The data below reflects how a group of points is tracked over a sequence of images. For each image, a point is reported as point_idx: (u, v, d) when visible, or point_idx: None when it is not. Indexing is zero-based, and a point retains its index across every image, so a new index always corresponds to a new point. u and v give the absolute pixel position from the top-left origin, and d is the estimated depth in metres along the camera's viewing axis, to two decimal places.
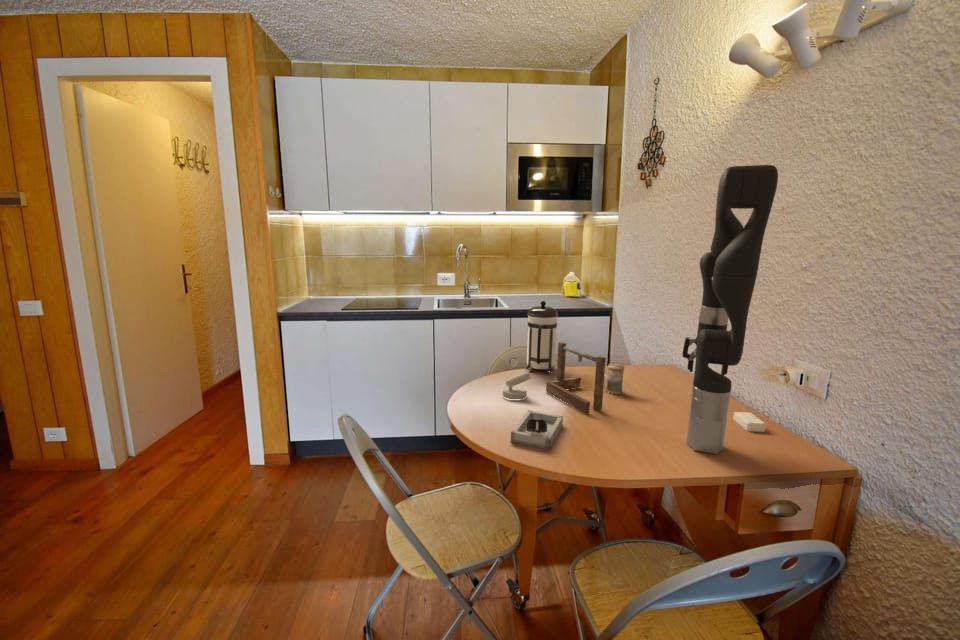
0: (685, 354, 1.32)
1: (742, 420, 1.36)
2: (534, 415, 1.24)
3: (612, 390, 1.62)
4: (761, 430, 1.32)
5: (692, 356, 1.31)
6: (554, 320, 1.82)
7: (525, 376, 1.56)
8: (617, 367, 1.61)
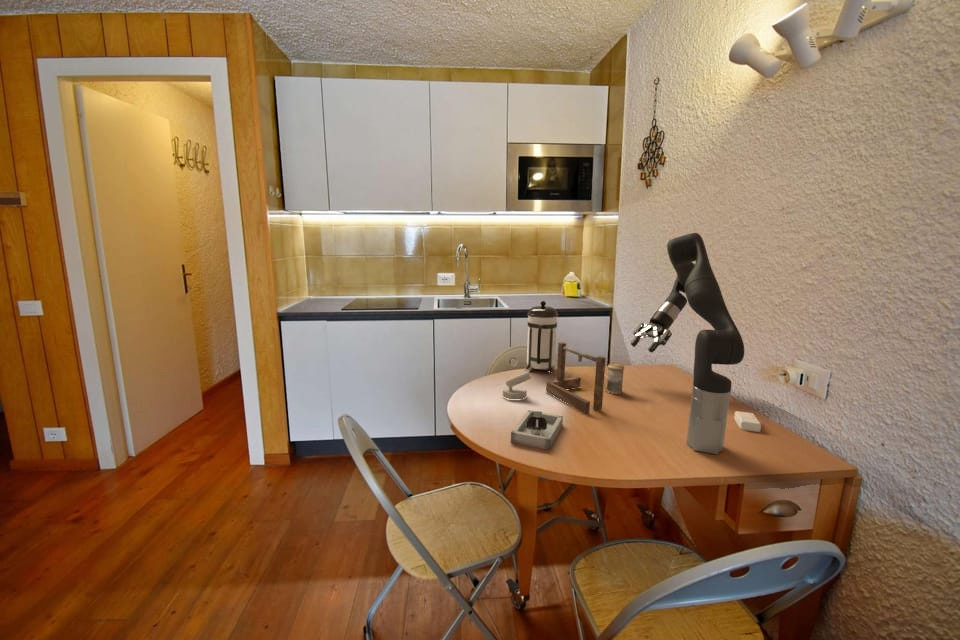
0: None
1: (738, 419, 1.37)
2: (534, 413, 1.26)
3: (612, 390, 1.62)
4: (756, 430, 1.33)
5: None
6: (554, 320, 1.82)
7: (525, 376, 1.56)
8: (617, 367, 1.61)
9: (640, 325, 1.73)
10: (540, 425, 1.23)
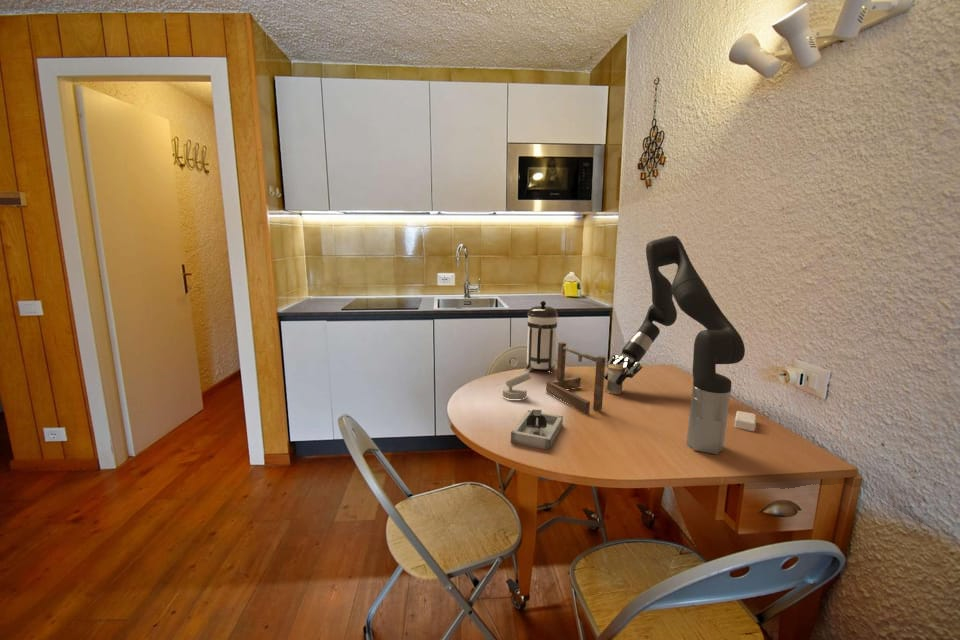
0: None
1: None
2: (534, 411, 1.27)
3: (612, 390, 1.62)
4: (749, 429, 1.33)
5: None
6: (554, 320, 1.82)
7: (525, 376, 1.56)
8: (617, 367, 1.61)
9: (612, 357, 1.69)
10: (540, 423, 1.24)
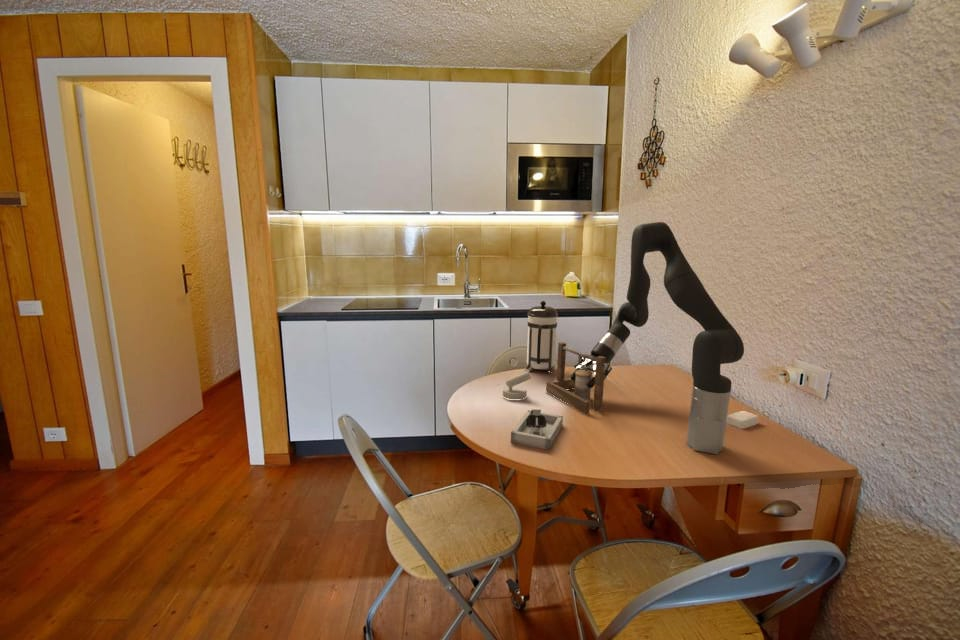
0: None
1: None
2: (533, 411, 1.27)
3: None
4: (738, 426, 1.35)
5: None
6: (554, 320, 1.82)
7: (525, 376, 1.56)
8: (584, 373, 1.53)
9: None
10: (540, 423, 1.24)
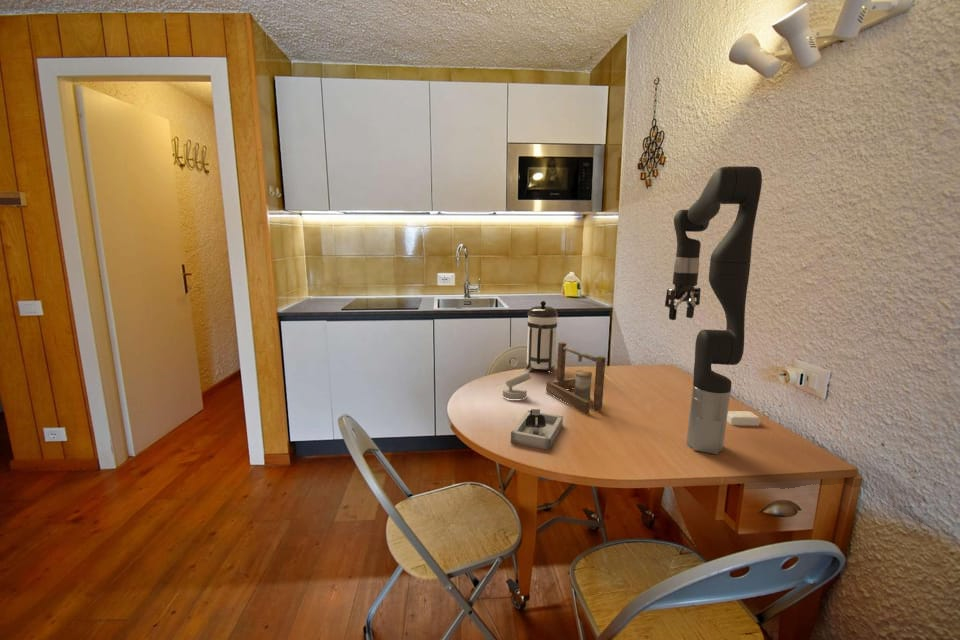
0: None
1: None
2: (533, 411, 1.27)
3: None
4: (729, 422, 1.38)
5: None
6: (554, 320, 1.82)
7: (525, 376, 1.56)
8: (584, 373, 1.53)
9: (674, 294, 1.44)
10: (540, 423, 1.25)
